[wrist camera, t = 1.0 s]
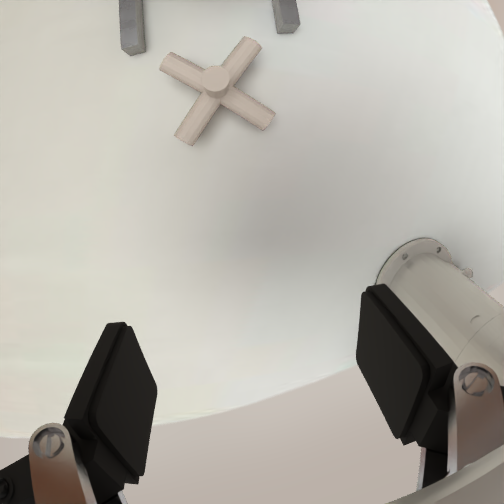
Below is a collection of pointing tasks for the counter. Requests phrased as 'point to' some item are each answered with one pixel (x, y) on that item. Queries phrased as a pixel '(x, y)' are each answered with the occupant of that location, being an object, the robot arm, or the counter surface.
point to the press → (134, 26)
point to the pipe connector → (217, 90)
